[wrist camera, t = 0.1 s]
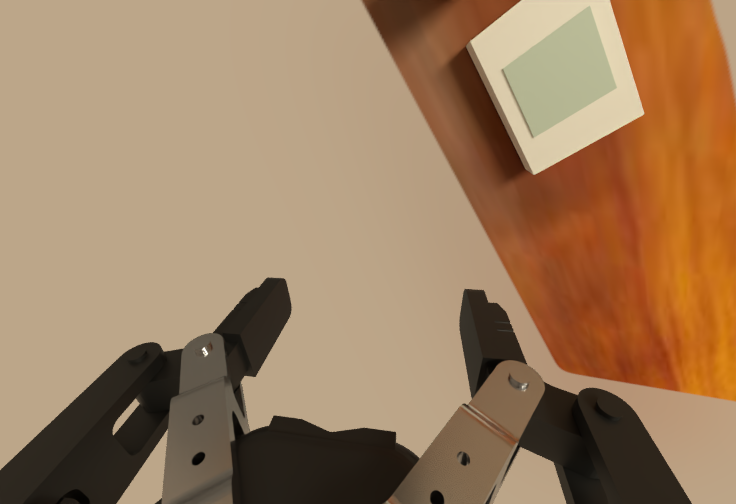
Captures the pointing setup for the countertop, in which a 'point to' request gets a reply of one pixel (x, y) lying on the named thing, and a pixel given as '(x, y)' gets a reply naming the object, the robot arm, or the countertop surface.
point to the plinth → (556, 77)
